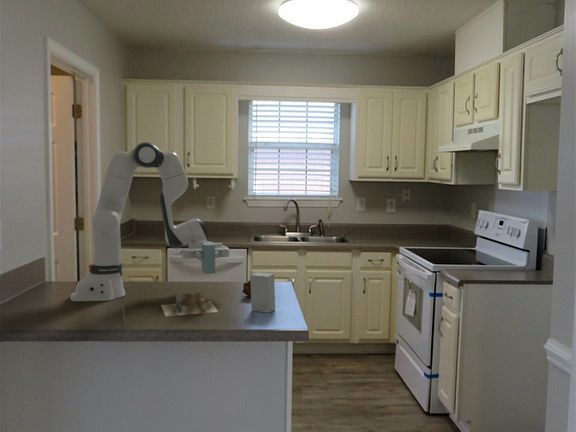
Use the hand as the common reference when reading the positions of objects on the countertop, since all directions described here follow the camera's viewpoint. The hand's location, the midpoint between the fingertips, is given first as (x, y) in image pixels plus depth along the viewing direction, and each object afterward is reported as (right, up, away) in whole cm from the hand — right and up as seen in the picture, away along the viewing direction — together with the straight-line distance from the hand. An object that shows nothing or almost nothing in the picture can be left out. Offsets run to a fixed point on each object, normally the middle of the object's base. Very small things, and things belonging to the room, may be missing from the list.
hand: (208, 255), depth 209 cm
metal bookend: (-10, -20, -13) cm, 26 cm away
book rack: (-6, -21, -12) cm, 25 cm away
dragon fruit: (+18, -19, +11) cm, 28 cm away
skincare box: (+23, -21, -10) cm, 33 cm away
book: (0, -7, +2) cm, 7 cm away
